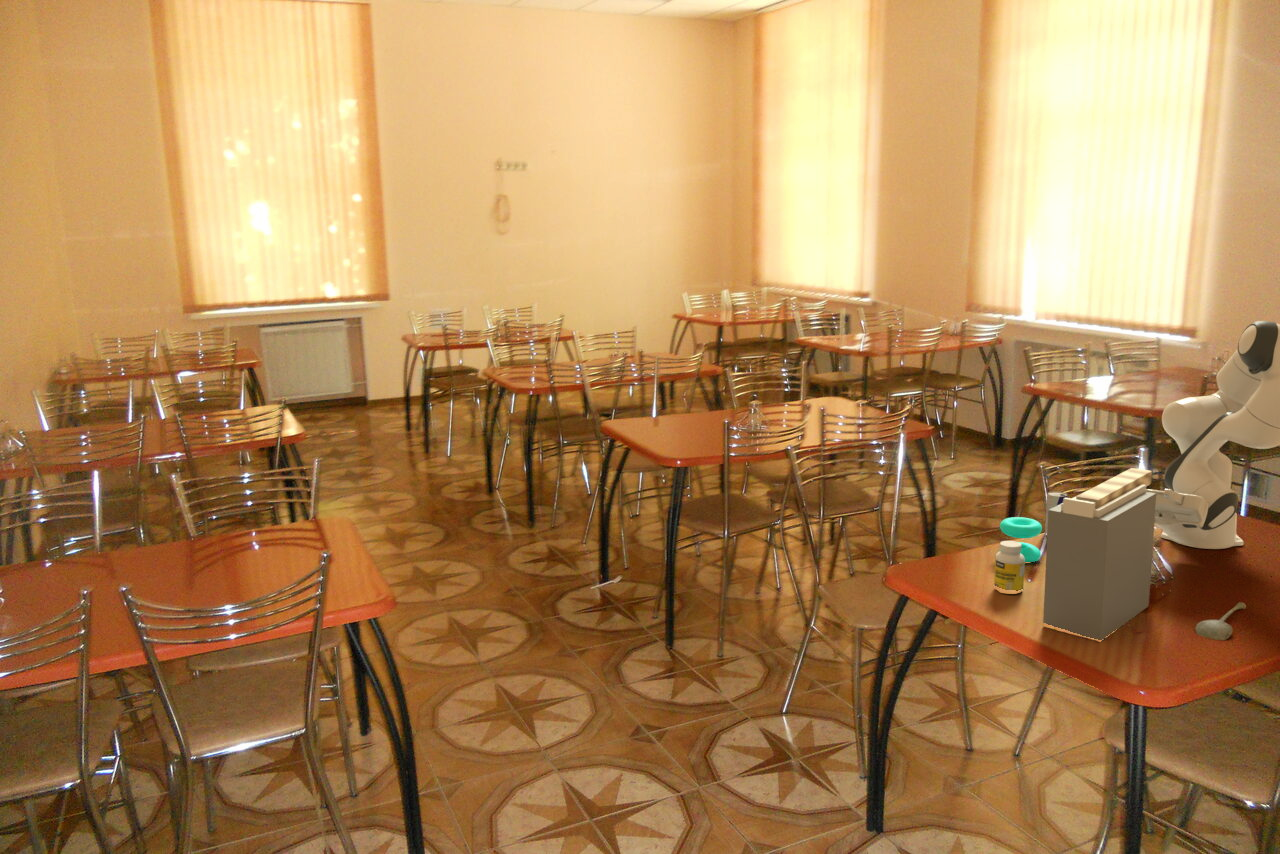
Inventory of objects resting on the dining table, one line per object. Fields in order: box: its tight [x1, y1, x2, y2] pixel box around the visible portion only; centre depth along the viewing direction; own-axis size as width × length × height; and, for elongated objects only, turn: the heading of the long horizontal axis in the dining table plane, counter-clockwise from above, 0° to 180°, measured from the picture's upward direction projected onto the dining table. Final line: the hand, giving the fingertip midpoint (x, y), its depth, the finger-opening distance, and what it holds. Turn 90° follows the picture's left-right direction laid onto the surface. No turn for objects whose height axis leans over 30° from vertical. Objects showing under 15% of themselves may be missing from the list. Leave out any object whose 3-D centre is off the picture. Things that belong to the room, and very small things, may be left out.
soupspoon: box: [1194, 602, 1247, 641], centre depth 206 cm, size 22×3×7 cm
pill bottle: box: [993, 540, 1026, 591], centre depth 227 cm, size 6×6×12 cm
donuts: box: [998, 516, 1043, 563], centre depth 248 cm, size 10×10×10 cm
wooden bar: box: [1076, 467, 1153, 510], centre depth 209 cm, size 30×4×3 cm, turn 134°
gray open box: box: [1042, 484, 1156, 640], centre depth 209 cm, size 26×12×29 cm, turn 133°
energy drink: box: [1044, 491, 1069, 534], centre depth 264 cm, size 5×5×12 cm
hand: (1145, 489), depth 227 cm, fingers open, 8 cm apart
